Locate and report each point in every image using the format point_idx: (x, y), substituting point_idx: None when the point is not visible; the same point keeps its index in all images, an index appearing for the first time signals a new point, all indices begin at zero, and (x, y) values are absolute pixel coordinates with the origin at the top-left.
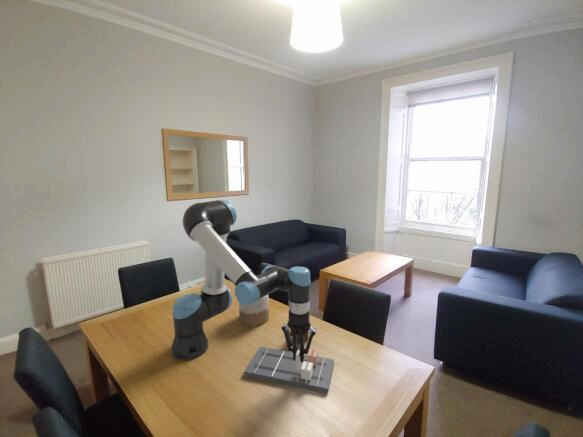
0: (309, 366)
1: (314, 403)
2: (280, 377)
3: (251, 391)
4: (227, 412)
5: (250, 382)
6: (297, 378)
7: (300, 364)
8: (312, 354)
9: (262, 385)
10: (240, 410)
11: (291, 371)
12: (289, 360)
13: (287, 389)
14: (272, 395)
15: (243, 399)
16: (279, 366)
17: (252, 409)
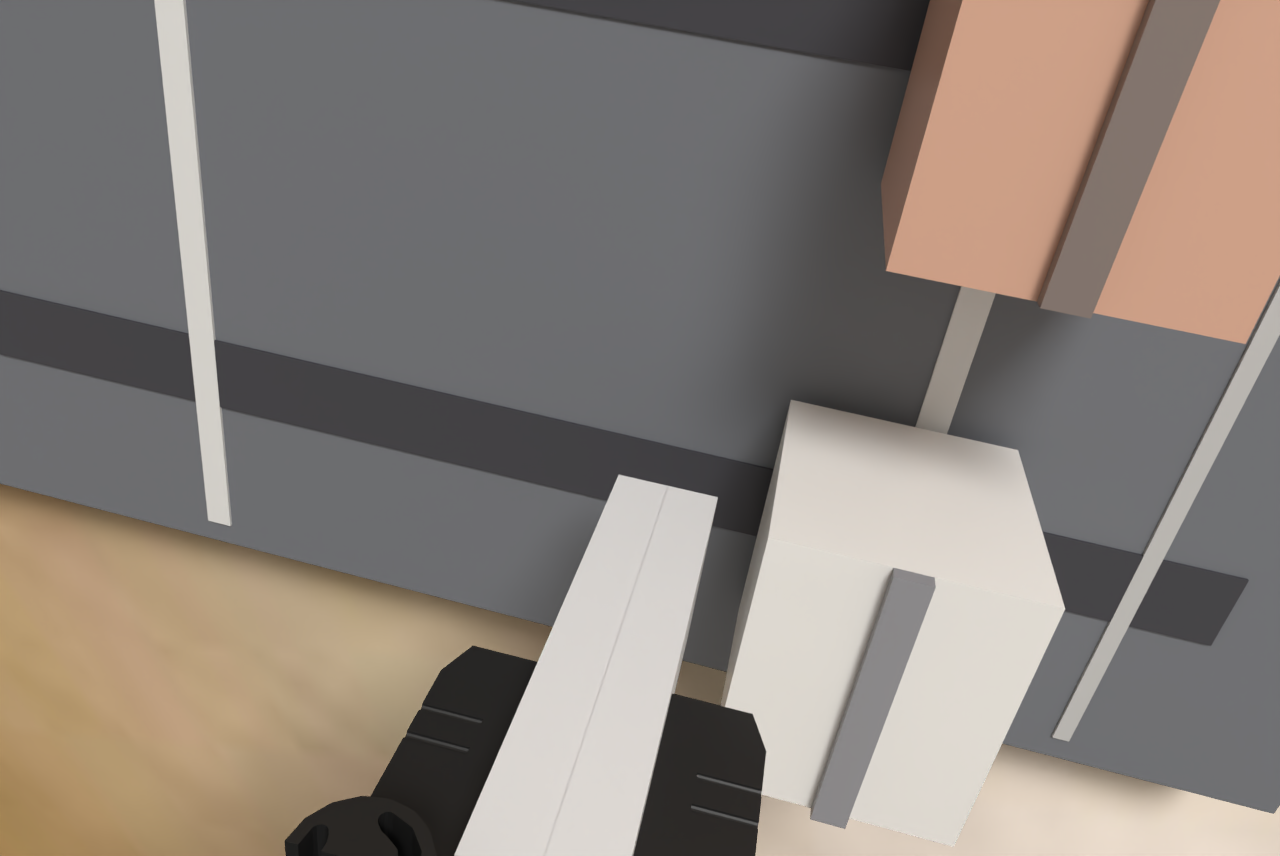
0: (938, 727)
1: (967, 853)
2: (367, 548)
3: (103, 639)
4: (39, 848)
5: (5, 500)
6: None
7: (686, 635)
8: (1116, 236)
9: (182, 552)
10: (135, 843)
11: (528, 407)
12: (400, 27)
13: (550, 628)
14: (376, 707)
15: (85, 734)
16: (249, 268)
17: (239, 846)
